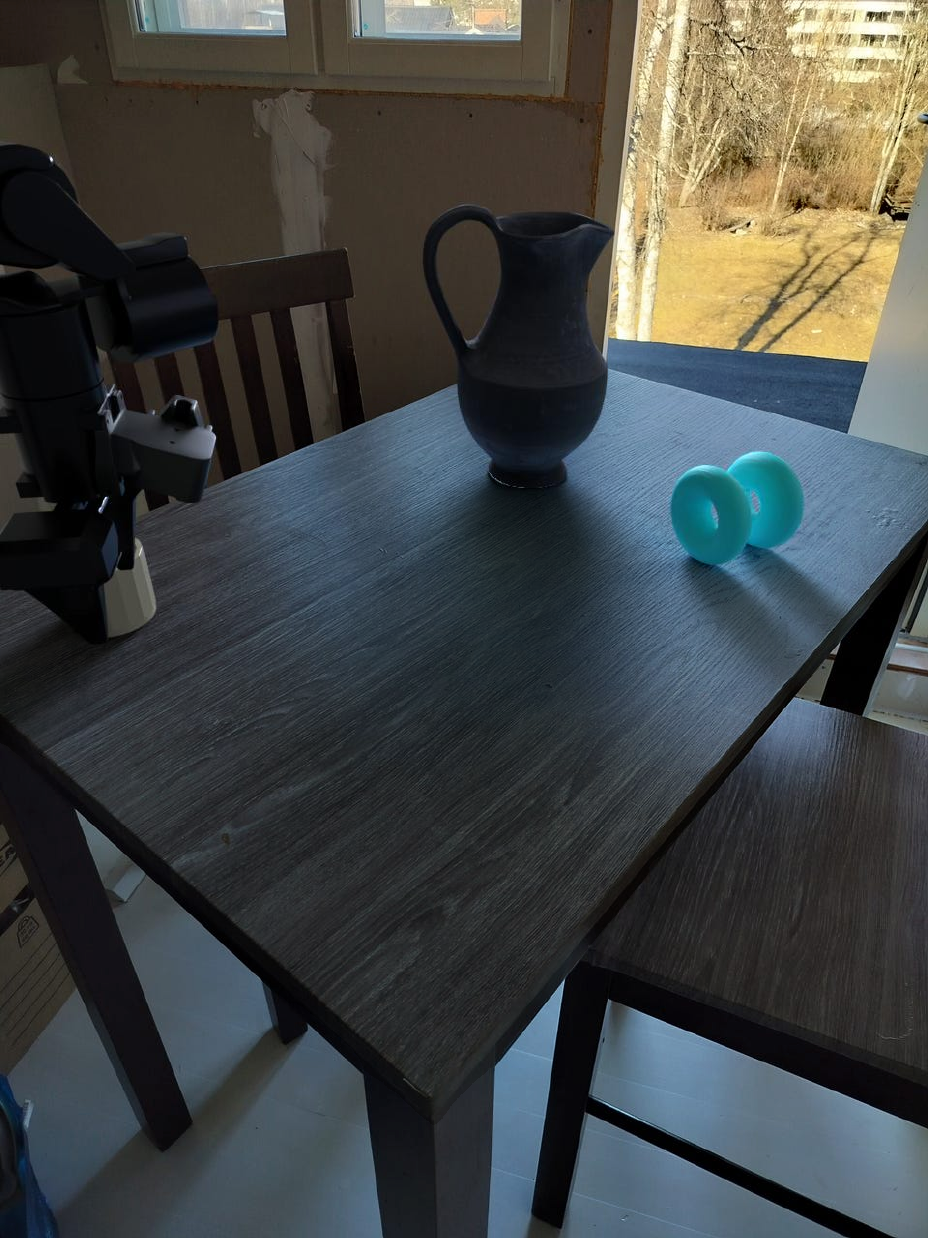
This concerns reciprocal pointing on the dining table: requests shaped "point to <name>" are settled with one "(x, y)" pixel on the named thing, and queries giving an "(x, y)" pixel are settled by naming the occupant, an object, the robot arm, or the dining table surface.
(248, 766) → the dining table surface
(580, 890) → the dining table surface
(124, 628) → the cup
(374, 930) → the dining table surface
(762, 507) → the donuts
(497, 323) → the pitcher
